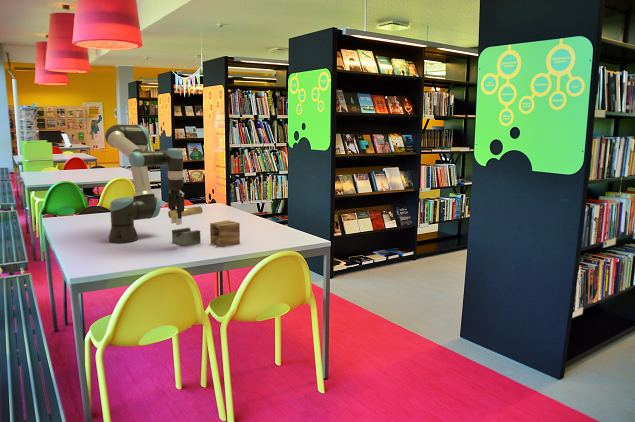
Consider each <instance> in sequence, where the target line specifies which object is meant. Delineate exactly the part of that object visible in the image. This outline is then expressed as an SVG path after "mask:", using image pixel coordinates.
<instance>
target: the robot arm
mask: <svg viewBox="0 0 635 422" xmlns="http://www.w3.org/2000/svg"><path fill="white" fill-rule="evenodd" d="M104 141H105V142H106V143H107V144H108V145H109V146H110V147H111V148H113V149H117V150H118V151H120V153H122V154H123V155H124V156H126V157H127V158H128V162H129V164H130V169H131V175H132V181H133V186H134V195H133V196H126V197H124V196H123V197H118V198H114V199H113V200H111V202H110V204H109V205H110V206H109V207H110V208H109V210H110V223H111V224H110V231H109V235H108V242H109V243H113V244H127V243H133V242H136V241H138V240H139V236H138V233H137V231H136V228H135V222H134V221H139V220H147V219H148V220H149V219H154V218H156V217H158V216H159V214H160V211H161V201H160V199H159V198H158V197H157V196H155V193H154V192H152V189H151V188H152V187H151V183H150V177H149V176H150V175H149V170H148V169H149V168H148V167H161V166H162V167H165V166H166V167H167V178H168V180H167V186H168V187H169V189H167V190H166V192H167V207H168V210H169V211H170V210H177V212H176V218H170V219H171V220H170V221H171V223H170V224H175V225H177V226H179V225H182V221H183V220H182V218H183V217H182V212H183V211H184V208H185V195H186V192H183V190H182V187H184V153H183V152H184V151H183V149H182V148H176V147H175V148H174V147H173V148H172V147H170V148H167V150H156V151H154V150H153V151H152V150H151V151H147V150H146V149H147V148H148V147H147V146H148V145H149V143H150V134H149V131H148V129H147V128H146V127H145V126H144V125H143V124H142V125H141V124H136V123H135V124H114V125H111V126H110V127H108V128H107V129H106V131H105V133H104Z"/></svg>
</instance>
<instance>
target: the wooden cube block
mask: <svg viewBox="0 0 635 422" xmlns="http://www.w3.org/2000/svg"><path fill="white" fill-rule="evenodd" d="M240 224H241V223H240V222H237V221H231V220H223V221H216V222H210V223H209V226H210V227H209V228H210V229H209V231H210V233H209V234H210V235H209V236H210V245H213V246H216V247H219V248H224V247H229V246H235V245H239V244H241V242H240V241H241V238H240V237H241V236H240V234H241V230H240V228H241V225H240Z"/></svg>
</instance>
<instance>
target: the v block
mask: <svg viewBox="0 0 635 422" xmlns="http://www.w3.org/2000/svg"><path fill="white" fill-rule="evenodd" d="M171 242H172V243H173V244H176V245H179V246H183V247H188V246H194V245H200V244H201V242H202V241H201V230H199V229H196V230H192V229H191V228H190V227H183V228H177V229H171Z"/></svg>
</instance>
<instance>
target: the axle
mask: <svg viewBox="0 0 635 422" xmlns="http://www.w3.org/2000/svg"><path fill="white" fill-rule="evenodd" d="M176 212H177V210H170V209H169V210H168V212H167V214H168V218H169V219H171V218H176ZM201 214H203V207H202V206H199V205H198V206H191V207H184V211H183V212H182V218H183V217H188V216H194V215H201Z"/></svg>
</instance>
